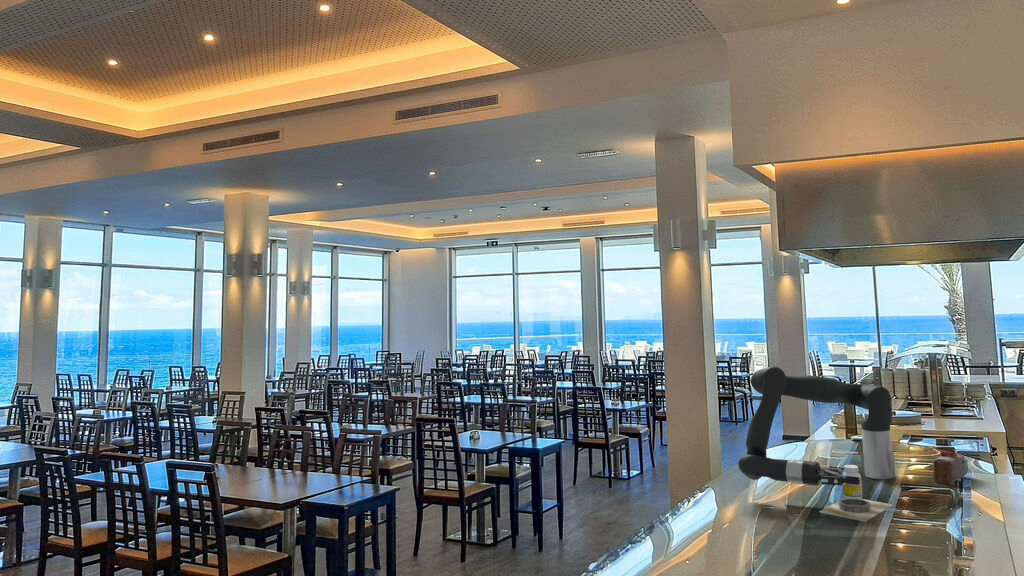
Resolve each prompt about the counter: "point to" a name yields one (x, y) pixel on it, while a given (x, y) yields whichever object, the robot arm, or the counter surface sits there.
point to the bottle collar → (846, 506)
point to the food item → (949, 467)
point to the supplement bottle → (851, 489)
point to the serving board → (874, 510)
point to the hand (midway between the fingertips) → (860, 478)
